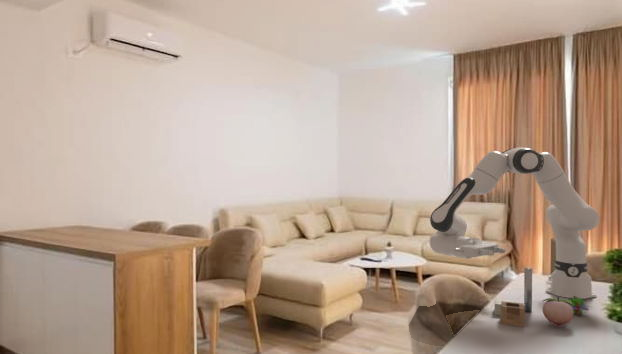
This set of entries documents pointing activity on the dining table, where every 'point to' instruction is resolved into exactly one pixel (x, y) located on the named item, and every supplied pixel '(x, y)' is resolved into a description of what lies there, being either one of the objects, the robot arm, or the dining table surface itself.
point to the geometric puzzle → (578, 305)
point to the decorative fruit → (558, 311)
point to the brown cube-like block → (512, 313)
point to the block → (499, 306)
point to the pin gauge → (528, 289)
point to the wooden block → (553, 254)
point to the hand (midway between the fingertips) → (498, 252)
